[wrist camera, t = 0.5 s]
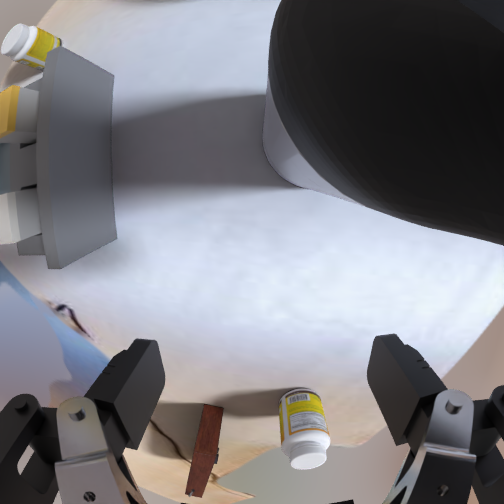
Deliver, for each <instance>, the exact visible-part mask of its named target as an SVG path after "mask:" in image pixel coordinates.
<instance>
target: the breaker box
mask: <svg viewBox="0 0 504 504" xmlns="http://www.w3.org/2000/svg"><path fill="white" fill-rule="evenodd" d="M113 83H114V75H112V74H111V73H109V72H107V71H106V70H104V69H102V68H100V67H99V66H97V65H95V64H93V63H92V62H90V61H88V60H86V59H84V58H83V57H81V56H79V55H77V54H75V53H73V52H71V51H70V50H68V49H66V48H64V47H62V46H59V47H57V48H55V49H53V50H51V51H49V52H47V57H46V61H45V67H44V72H43V78H41V79H39V80H37V81H35V82H33V83H31V84H29V85H28V86H26V87H24V88H27V89H31V90H35V91H39V92H40V100H39V109H38V121H37V142H36V143H34V144H30V143H10V189H11V192H15V191H21V190H27V189H33V188H37V192H38V205H39V214H40V223H41V230H42V233H40V234H37V235H34V236H31V237H29V238H26V239H24V240H21V241H18V242H17V248H18V254H19V255H46V260H47V265H48V269H62V268H63V267H65V266H67V265H69V264H71V263H72V262H74V261H76V260H78V259H80V258H81V257H83V256H85V255H87V254H89V253H91V252H93V251H94V250H96V249H98V248H100V247H102V246H104V245H106V244H108V243H110V242H112V241H114V240H116V239H117V233H116V224H115V214H114V203H113V188H112V167H111V117H112V97H113Z"/></svg>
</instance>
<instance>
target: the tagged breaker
mask: <svg viewBox="0 0 504 504" xmlns="http://www.w3.org/2000/svg"><path fill="white" fill-rule="evenodd" d="M39 100H40V92H39V91H35V90H31V89H27V88H23V87H19V86H15V85H12V86H10V87H9V88H7V89H5V90H4V91H2V92H1V93H0V143H30V144H34V143H36V142H37V121H38V109H39Z"/></svg>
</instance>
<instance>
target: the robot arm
mask: <svg viewBox="0 0 504 504" xmlns="http://www.w3.org/2000/svg"><path fill="white" fill-rule="evenodd" d="M263 147H264V151H265V155H266V157H267V159H268V161H269V163H270V165H271V166H272V167H273V168H274V170H275V171H276V172H277V173H278V174H279V175H280V176H281V177H282V178H284V179H285V180H287V181H289V182H290V183H292V184H294V185H296V186H299V187H301V188H305V189H310V190H314V191H317V192H321V193H324V194H327V195H331V196H334V197H337V198H340V199H343V200H346V201H350V202H353V203H356V204H359V205H362V206H365V207H368V208H371V209H374V210H376V211H379V212H382V213H385V214H388V215H390V216H393V217H396V218H399V219H402V220H405V221H408V222H411V223H414V224H418V225H421V226H424V227H428V228H432V229H437V230H442V231H446V232H451V233H455V234H460V235H464V236H469V237H473V238H477V239H481V240H485V241H489V242H492V243H496V244H500V245H503V246H504V0H281V2H280V4H279V7H278V9H277V11H276V15H275V18H274V22H273V26H272V30H271V36H270V46H269V60H268V81H267V92H266V105H265V115H264V125H263ZM367 380H368V384H369V386H370V388H371V390H372V392H373V395H374V397H375V399H376V401H377V403H378V405H379V408H380V410H381V412H382V414H383V417H384V419H385V421H386V423H387V425H388V428H389V430H390V432H391V435H392V437H393V439H394V442H395V444H396V446H398V445H401V444H405V443H408V444H409V446H410V448H409V450H408V451H407V454H406V456H405V459H404V461H403V464H402V466H401V468H400V471H399V473H398V475H397V477H396V480H395V482H394V484H393V486H392V488H391V490H390V492H389V494H388V495H387V497H386V499H385V500H384V502H383V503H382V504H467V502H468V498H469V494H470V490H471V486H472V487H473V489H474V492H475V494H476V496H477V499H478V501H479V504H504V459H503V457H502V455H501V453H500V452H499V450H498V448H497V446H496V443H497V442H498V441H499V439H500V438H501V437H502V439H503V441H504V385H503V386H498V387H497V388H495V389H494V390H493V392H492V394H491V396H490V398H489V399H485V400H475V401H472V400H471V398H470V397H469V396H468V395H467V394H466V393H464V392H462V391H459V390H454V389H450V390H448V389H447V388H446V386H445V385H444V384H443V382H442V381H441V380H440V378H439V377H438V376H437V374H436V373H435V372H434V371H433V369H432V368H431V367H429V364H428V363H427V362H426V361H424V358H423V357H422V356H421V354H420V353H419V352H418V351H417V350H416V349H414V348H412V347H411V346H409V345H404V344H403V342H402V341H401V340H400V339H399V337H398V336H397V335H396V334H388V335H380V336H376V337H375V339H374V341H373V346H372V351H371V356H370V360H369V364H368V369H367ZM164 385H165V372H164V368H163V364H162V359H161V355H160V351H159V346H158V343H157V341H156V340H148V339H135V340H134V342H133V343H132V344H131V346H130V347H129V348H128V350H123V351H121V352H120V353H118V354H117V355H115V356H114V357H113V358H112V359H111V361H110V362H109V363H108V365H107V367H105V369H104V370H103V371H102V373H101V374H100V375H99V377H98V378H97V379H96V381H95V382H94V383H93V385H92V386H91V387H90V389H89V390H88V391H87V393H86V394H85V396H84V397H73V398H69V399H67V400H65V401H64V402H63V403H61V404H60V406H59V407H58V408H47V407H41V406H40V404H39V402H38V401H37V399H36V398H35V397H34V396H33V395H30V394H20V395H18V396H16V397H14V398H12V399H11V400H10V401H9V402H8V404H7V405H6V406H5V407H4V409H3V410H2V411H1V412H0V504H53V502H54V499H55V497H56V495H57V493H58V491H60V496H61V499H62V504H147V503H146V501H145V500H144V498H143V496H142V495H141V493H140V491H139V489H138V486H137V484H136V482H135V480H134V478H133V476H132V474H131V471H130V469H129V467H128V464H127V462H126V460H125V457H124V455H123V451H124V449H125V447H127V448H131V449H135V450H137V449H138V447H139V444H140V442H141V440H142V437H143V435H144V432H145V430H146V428H147V425H148V423H149V421H150V418H151V416H152V414H153V411H154V409H155V407H156V404H157V402H158V400H159V398H160V395H161V393H162V391H163V388H164ZM28 445H30V447H31V448H32V449H33V450H34V453H33V455H32V456H31V458H30V459H29V461H28V463H27V465H26V466H25V468H24V470H23V472H22V473H21V475H20V474H19V472H18V469H17V464H18V461H19V459H20V458H21V456H22V454H23V453H24V451H25V450H26V448H27V446H28ZM181 504H186V503H181ZM331 504H354V502H353V500H348V501H342V502H337V503H331Z"/></svg>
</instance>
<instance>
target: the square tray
mask: <svg viewBox="0 0 504 504" xmlns="http://www.w3.org/2000/svg"><path fill="white" fill-rule="evenodd" d="M9 192H11V189H10V143H0V195H2V194H5V193H9Z"/></svg>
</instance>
